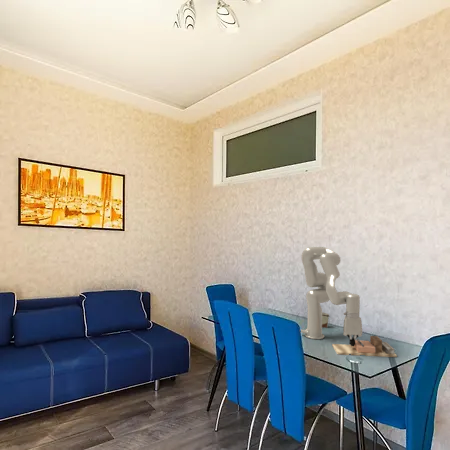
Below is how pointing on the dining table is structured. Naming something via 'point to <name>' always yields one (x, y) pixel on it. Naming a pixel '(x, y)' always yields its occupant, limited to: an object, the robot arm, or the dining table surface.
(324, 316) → the food container
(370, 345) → the block
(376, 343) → the walnut block
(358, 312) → the robot arm
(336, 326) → the dining table surface
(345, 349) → the vise
